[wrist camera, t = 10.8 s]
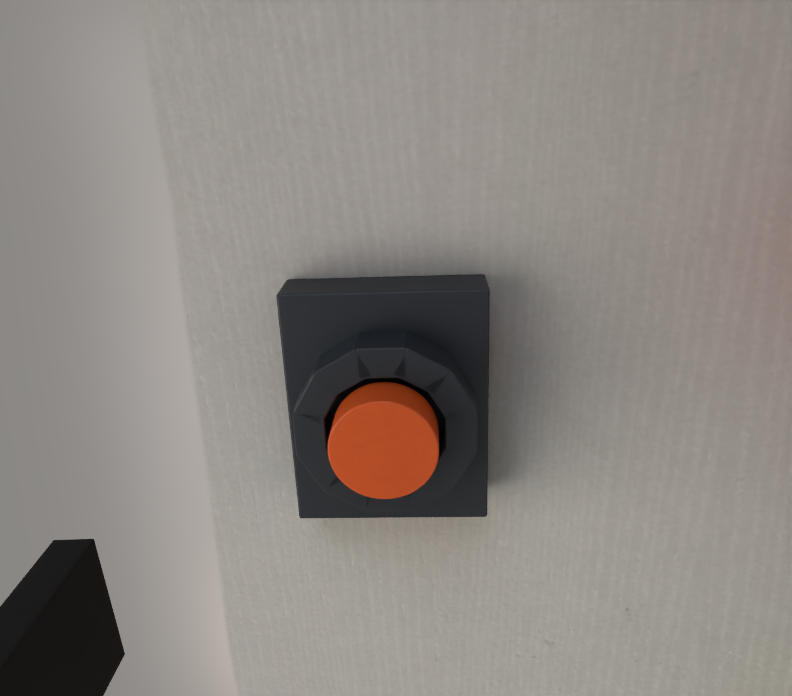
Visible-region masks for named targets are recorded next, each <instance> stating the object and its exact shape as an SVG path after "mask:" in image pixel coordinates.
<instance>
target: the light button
mask: <svg viewBox="0 0 792 696" xmlns="http://www.w3.org/2000/svg"><path fill="white" fill-rule="evenodd" d="M328 458H329V461H330V464H331V466H332V469H333V471H334V472H335V474H336V475H337V477H338V478H339V479H340V480H341V481H342V482H343V483H344V484H345V485H346V486H347V487H349V488H350V489H352V490H353V491H355V492H357V493H359V494H361V495H364V496H367V497H371V498H376V499H394V498H399V497H402V496H406V495H408V494H410V493H413V492H414V491H416V490H418V489H419V488H420V487H421V486H423V485H424V484H425V483H426V482H427V481H428V480H429V478H430V477H431V476H432V474H433V472H434V470H435V468H436V466H437V463H438V458H439V431H438V422H437V417H436V415H435V412H434V410H433V408H432V407H431V405H430V404H429V403H428V401H427V400H426V399H425V398H424V397H423V396H422V395H421V394H419V393H418V392H417V391H415V390H413V389H412V388H410V387H407V386H405V385H402V384H398V383H393V382H375V383H371V384H367V385H364V386H362V387H360V388H357V389H356V390H354V391H353V392H351V393H350V394H349V395H348V396H347V397H346V398H345V399H344V400H343V401H342V402H341V404H340V405H339V407H338V409H337V411H336V413H335V417H334V420H333V424H332V428H331V431H330V435H329V439H328Z"/></svg>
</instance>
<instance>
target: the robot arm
mask: <svg viewBox="0 0 792 696" xmlns="http://www.w3.org/2000/svg"><path fill="white" fill-rule="evenodd" d="M124 654H125V653H124V650H123V646H122V642H121V638H120V635H119V631H118V627H117V623H116V620H115V616H114V612H113V609H112V605H111V601H110V597H109V594H108V590H107V586H106V583H105V579H104V575H103V572H102V568H101V564H100V560H99V557H98V553H97V549H96V546H95V542H94V539H78V540H54V541H53V542H52V543H51V544H50V546H49V547H48V548H47V549H46V551H45V552H44V553H43V555H42V556H41V557H40V558H39V559H38V560H37V562H36V563H35V564H34V565H33V567H32V568H31V569H30V570H29V572H28V573H27V574H26V576H25V577H24V578H23V579H22V581H21V582H20V583H19V584H18V585H17V587H16V588H15V589H14V590H13V592H12V593H11V594H10V596H9V597H8V598H7V599H6V600H5V602H4V603H3V604H2V605H1V607H0V696H103V695H104V693H105V691H106V689H107V687H108V685H109V683H110V681H111V679H112V678H113V676H114V674H115V672H116V670H117V668H118V666H119V664H120V662H121V660H122V658H123V656H124Z"/></svg>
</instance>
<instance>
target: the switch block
mask: <svg viewBox="0 0 792 696" xmlns="http://www.w3.org/2000/svg"><path fill="white" fill-rule="evenodd" d="M489 292H490V291H489V288H488V284H487V281H486V277H485V275H483V274H478V275H441V276H403V277H365V278H327V279H289V280H287V281H286V282H285V284H284V285H283V287H282V288H281V290H280V291H279V293H278V294H277V306H278V315H279V325H280V334H281V344H282V354H283V363H284V373H285V382H286V392H287V401H288V411H289V421H290V430H291V440H292V449H293V459H294V468H295V478H296V487H297V497H298V507H299V516H300V518H377V517H485V516H487V480H488V386H489ZM375 382H393V383H398V384H402V385H405V386H407V387H410V388H412V389H413V390H415V391H417V392H418V393H419V394H421V395H422V396H423V397H424V398H425V399H426V400H427V401H428V403H429V404H430V405H431V407H432V408H433V410H434V412H435V415H436V417H437V422H438V431H439V458H438V463H437V466H436V468H435V470H434V472H433V474H432V476H431V477H430V478H429V480H428V481H427V482H426V483H425V484H424V485H423V486H421V487H420V488H419V489H418V490H416V491H414V492H413V493H410V494H408V495H406V496H402V497H399V498H394V499H376V498H371V497H367V496H364V495H361V494H359V493H357V492H355V491H353V490H352V489H350V488H349V487H347V486H346V485H345V484H344V483H343V482H342V481H341V480H340V479H339V478H338V477H337V475H336V474H335V472H334V471H333V469H332V466H331V464H330V461H329V458H328V439H329V435H330V431H331V428H332V424H333V420H334V417H335V413H336V411H337V409H338V407H339V405H340V404H341V402H342V401H343V400H344V399H345V398H346V397H347V396H348V395H349V394H350V393H351V392H353V391H354V390H356V389H357V388H360V387H362V386H364V385H367V384H371V383H375Z"/></svg>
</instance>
